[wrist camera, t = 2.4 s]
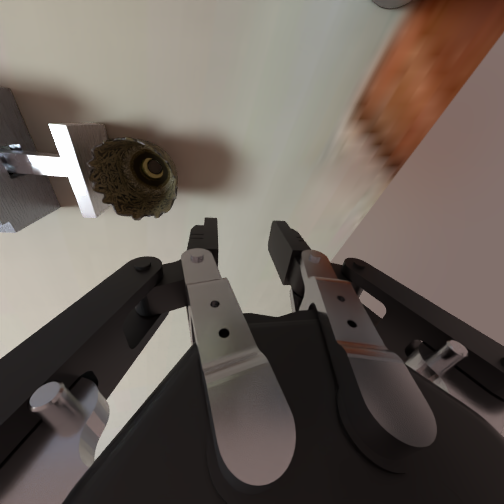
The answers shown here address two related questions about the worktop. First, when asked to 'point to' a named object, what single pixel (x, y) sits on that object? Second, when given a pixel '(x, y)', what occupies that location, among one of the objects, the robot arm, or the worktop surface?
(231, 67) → the worktop surface
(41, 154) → the plunger
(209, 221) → the robot arm
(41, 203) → the gauge housing
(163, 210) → the cup
